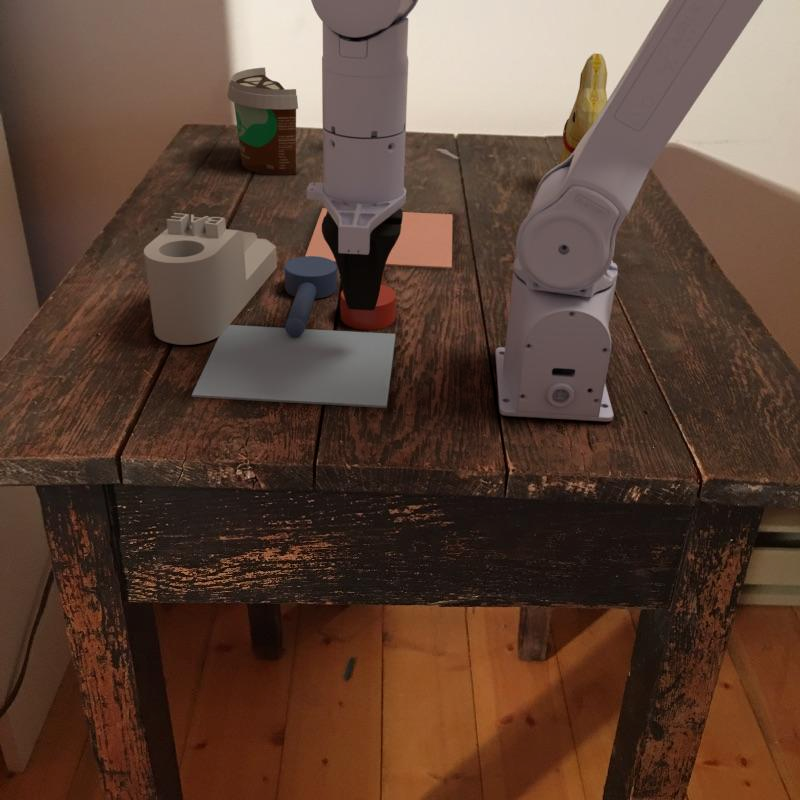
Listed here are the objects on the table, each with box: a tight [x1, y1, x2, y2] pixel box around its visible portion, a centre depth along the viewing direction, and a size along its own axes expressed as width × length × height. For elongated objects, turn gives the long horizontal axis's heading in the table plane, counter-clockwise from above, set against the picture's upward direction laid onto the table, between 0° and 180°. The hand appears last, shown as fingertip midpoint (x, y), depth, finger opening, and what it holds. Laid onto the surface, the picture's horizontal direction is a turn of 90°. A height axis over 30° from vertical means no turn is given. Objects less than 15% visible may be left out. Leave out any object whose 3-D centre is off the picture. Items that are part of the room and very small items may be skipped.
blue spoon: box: [283, 255, 338, 337], centre depth 78 cm, size 12×5×2 cm, turn 177°
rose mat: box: [304, 207, 454, 270], centre depth 92 cm, size 14×14×1 cm
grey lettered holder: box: [143, 212, 278, 346], centre depth 77 cm, size 6×18×8 cm, turn 168°
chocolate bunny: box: [558, 53, 608, 165], centre depth 103 cm, size 7×11×15 cm, turn 174°
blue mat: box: [191, 324, 397, 409], centre depth 70 cm, size 11×14×1 cm
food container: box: [227, 67, 299, 176], centre depth 108 cm, size 12×6×10 cm, turn 25°
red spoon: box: [340, 267, 397, 331], centre depth 80 cm, size 12×5×2 cm, turn 177°
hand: (361, 306), depth 70 cm, fingers closed
